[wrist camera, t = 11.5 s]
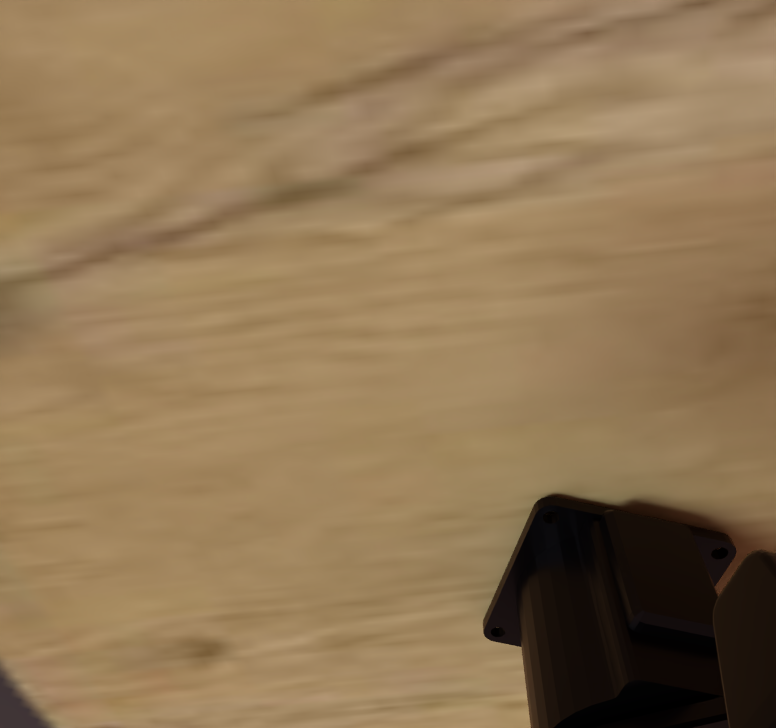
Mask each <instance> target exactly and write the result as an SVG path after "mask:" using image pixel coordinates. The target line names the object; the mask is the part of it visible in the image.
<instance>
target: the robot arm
mask: <svg viewBox="0 0 776 728" xmlns="http://www.w3.org/2000/svg"><path fill="white" fill-rule="evenodd" d="M549 511H554V512H555V513H554V514H551V515H546V514H545V513H547V512H549ZM716 548H720V549H718V550H714V549H716ZM735 555H736V548H735V546H734V543H733V541H732V539H731V538H730V537H729V536H728V535H726V534H724V533H720V532H716V531H711V530H706V529H702V528H697V527H692V526H688V525H683V524H679V523H674V522H669V521H665V520H660V519H655V518H651V517H646V516H641V515H637V514H632V513H627V512H623V511H618V510H613V509H609V508H604V507H599V506H595V505H590V504H586V503H581V502H576V501H572V500H567V499H562V498H558V497H544V498H541V499H540V500H538V501H537V502H536V503H535V505H534V506H533V509H532V511H531V513H530V516H529V518H528V520H527V522H526V525H525V527H524V529H523V531H522V534H521V536H520V538H519V541H518V543H517V545H516V547H515V550H514V552H513V554H512V556H511V559H510V561H509V563H508V565H507V568H506V570H505V572H504V575H503V577H502V579H501V581H500V584H499V586H498V588H497V590H496V593H495V595H494V597H493V600H492V602H491V604H490V606H489V609H488V611H487V613H486V615H485V618H484V620H483V632H484V635H485V637H486V638H487V639H489V640H491V641H495V642H500V643H505V644H510V645H515V646H520V647H522V655H523V664H524V672H525V681H526V689H527V698H528V706H529V715H530V723H531V728H776V553H775V552H770V551H766V550H755V551H752V552H751V553H749V554H748V555H747V556H746V557H745V558H744V560H743V561H742V563H741V564H740V566H739V567H738V569H737V570H736V572H735V573H734V574H733V576H732V577H731V579H730V580H729V582H728V583H727V585H726V586H725V588H724V589H723V591H722V592H721V594H720V595H719V596H718V593H717V591H716V589H715V586H716V584H717V583H718V581H719V580H720V578H721V577H722V575H723V574H724V572H725V571H726V569H727V568H728V566H729V565H730V563H731V562H732V560H733V559H734V557H735ZM496 627H499V628H496Z"/></svg>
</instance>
